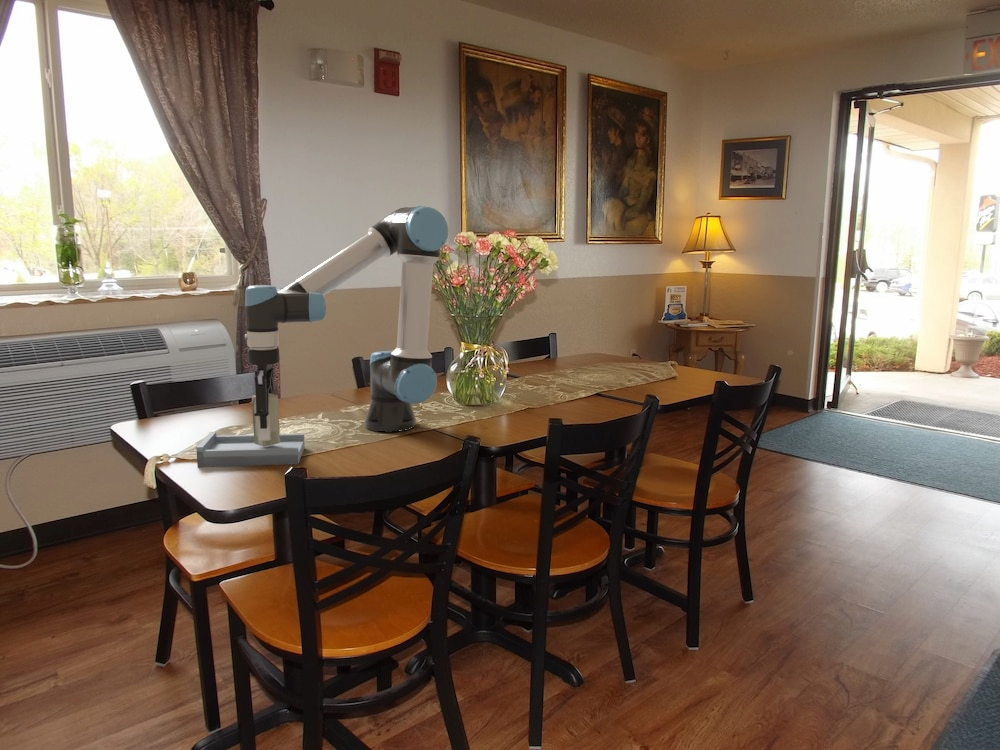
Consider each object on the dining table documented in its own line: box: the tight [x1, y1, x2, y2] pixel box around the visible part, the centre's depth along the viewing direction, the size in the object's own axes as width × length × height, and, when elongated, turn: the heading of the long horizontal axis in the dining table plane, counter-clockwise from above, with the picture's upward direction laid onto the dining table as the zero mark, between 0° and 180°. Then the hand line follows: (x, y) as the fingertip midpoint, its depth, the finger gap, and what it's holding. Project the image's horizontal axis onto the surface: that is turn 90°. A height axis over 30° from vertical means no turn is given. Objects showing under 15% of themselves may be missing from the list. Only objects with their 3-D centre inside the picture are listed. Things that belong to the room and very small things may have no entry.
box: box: [251, 393, 281, 447], centre depth 183 cm, size 5×4×13 cm
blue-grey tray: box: [195, 431, 306, 468], centre depth 184 cm, size 24×14×5 cm, turn 99°
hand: (267, 436), depth 183 cm, fingers closed on box, 6 cm apart
